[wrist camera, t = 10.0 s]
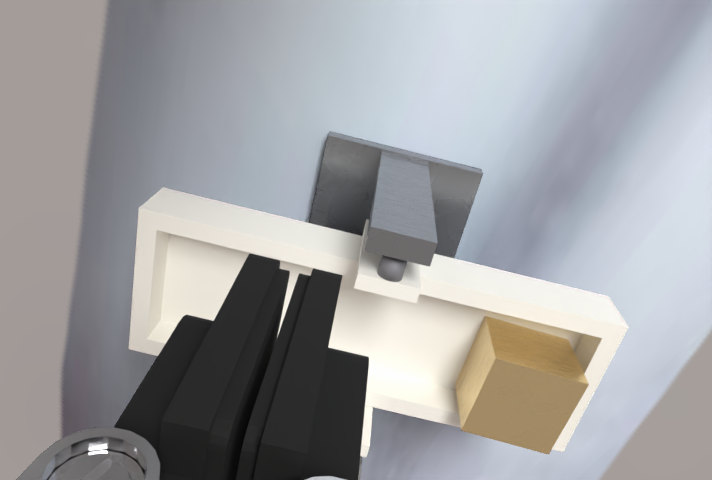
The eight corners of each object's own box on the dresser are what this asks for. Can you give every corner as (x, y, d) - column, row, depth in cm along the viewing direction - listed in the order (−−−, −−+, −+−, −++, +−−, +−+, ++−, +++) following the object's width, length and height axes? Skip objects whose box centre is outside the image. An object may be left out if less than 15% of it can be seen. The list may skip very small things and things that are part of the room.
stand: (330, 131, 36) (292, 202, 24) (480, 169, 36) (517, 258, 25) (285, 338, 43) (239, 472, 31) (412, 368, 43) (415, 513, 31)
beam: (185, 141, 34) (112, 193, 25) (605, 245, 34) (670, 329, 26) (166, 318, 39) (102, 409, 31) (530, 404, 40) (563, 517, 31)
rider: (485, 315, 32) (495, 358, 28) (568, 339, 32) (589, 384, 29) (455, 382, 34) (461, 430, 31) (533, 404, 34) (548, 454, 31)
